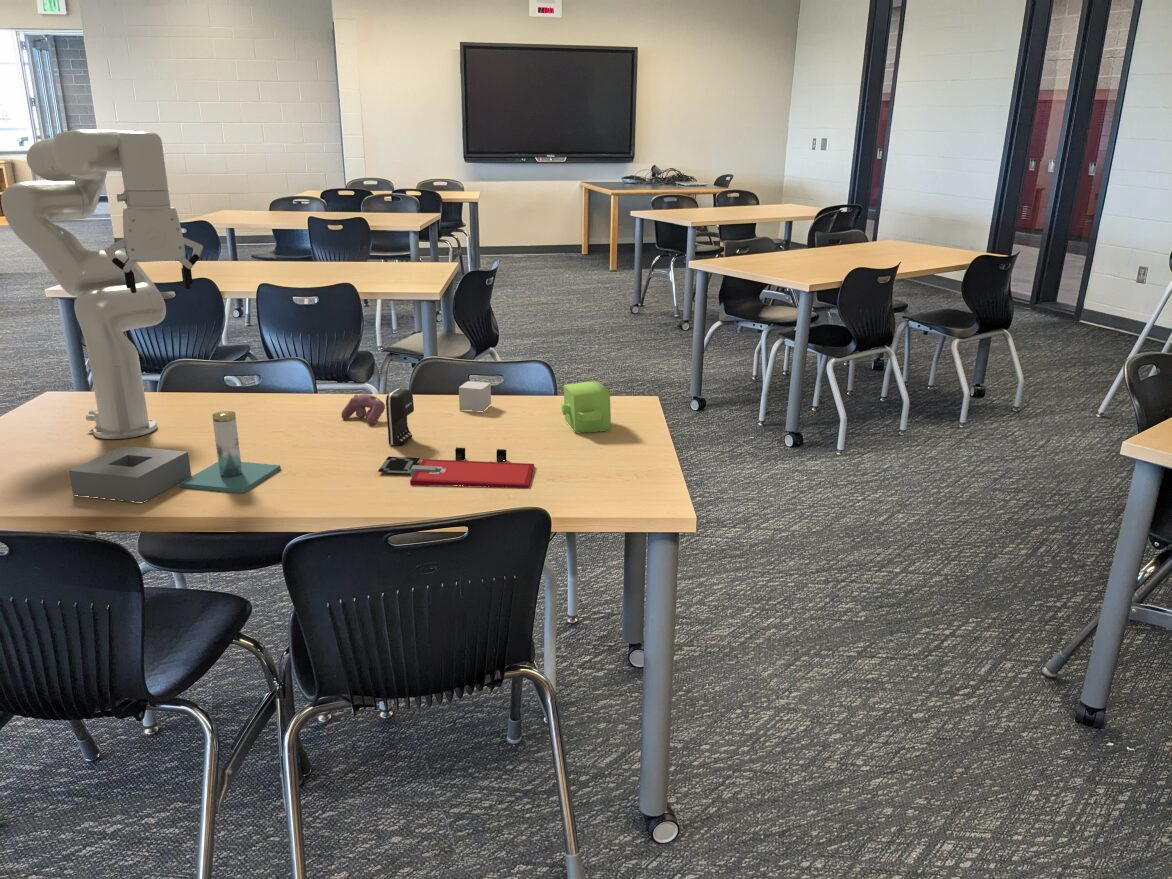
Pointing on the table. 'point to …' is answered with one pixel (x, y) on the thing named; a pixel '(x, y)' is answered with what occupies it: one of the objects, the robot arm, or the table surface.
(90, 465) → the block
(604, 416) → the gearbox
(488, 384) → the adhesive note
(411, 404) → the battery charger
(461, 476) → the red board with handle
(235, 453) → the peg
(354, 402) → the video game controller
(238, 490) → the mat
